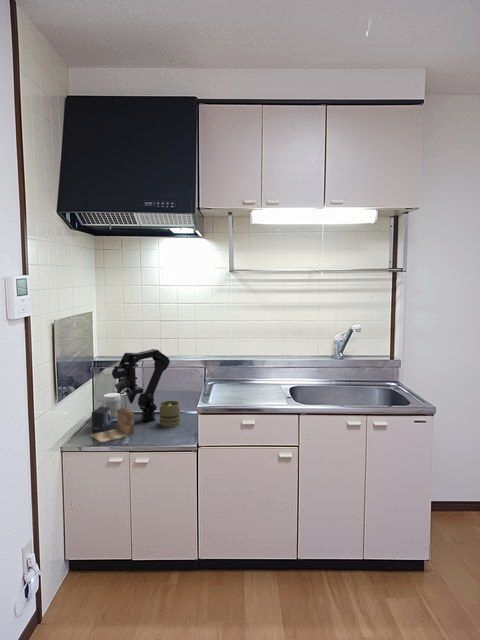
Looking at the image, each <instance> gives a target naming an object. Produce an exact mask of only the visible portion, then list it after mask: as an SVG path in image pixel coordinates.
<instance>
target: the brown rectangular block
mask: <svg viewBox="0 0 480 640" xmlns="http://www.w3.org/2000/svg"><path fill="white" fill-rule="evenodd" d="M117 417H118V421H117V430H118V431H120V432H121V433H123V434H125V435H126V436H128V435H133V434H135V418H134V417H135V416H134V411H133V410H131V409H130V408H127V407H123V408H122V407H121V409H117Z"/></svg>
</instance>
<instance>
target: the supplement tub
mask: <svg viewBox="0 0 480 640" xmlns="http://www.w3.org/2000/svg"><path fill="white" fill-rule="evenodd" d="M121 401H122V400H121V393H119V392H110V393H106V394H104V395H103V407H110V408H111V422H118V417H117V409H121V408H122V402H121Z"/></svg>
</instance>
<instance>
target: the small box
mask: <svg viewBox="0 0 480 640" xmlns="http://www.w3.org/2000/svg"><path fill="white" fill-rule="evenodd" d="M111 426H112V421H111V408H110V407H104V406H100V407H97V408H96V409H94V410H93V411H91V431H96V432H104V430H106V429H108V428H109V427H111Z"/></svg>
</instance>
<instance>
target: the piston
mask: <svg viewBox="0 0 480 640" xmlns="http://www.w3.org/2000/svg"><path fill="white" fill-rule="evenodd" d="M180 413H181V407H180V404H179V401H178V400H165V401H164V400H163V401H161V402H160V406H159V426H160V427H163V428H176V427H178V425H179V426H180V425H181V414H180Z"/></svg>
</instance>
